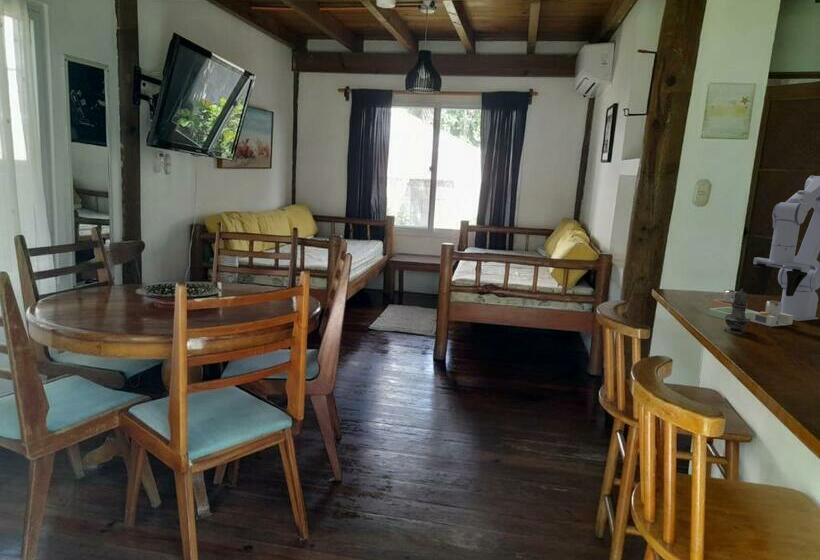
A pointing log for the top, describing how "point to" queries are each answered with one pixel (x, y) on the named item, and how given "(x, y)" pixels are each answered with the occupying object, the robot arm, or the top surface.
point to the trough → (725, 312)
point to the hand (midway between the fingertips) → (775, 293)
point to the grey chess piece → (738, 314)
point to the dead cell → (729, 296)
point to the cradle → (771, 319)
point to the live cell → (774, 309)
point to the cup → (720, 304)
